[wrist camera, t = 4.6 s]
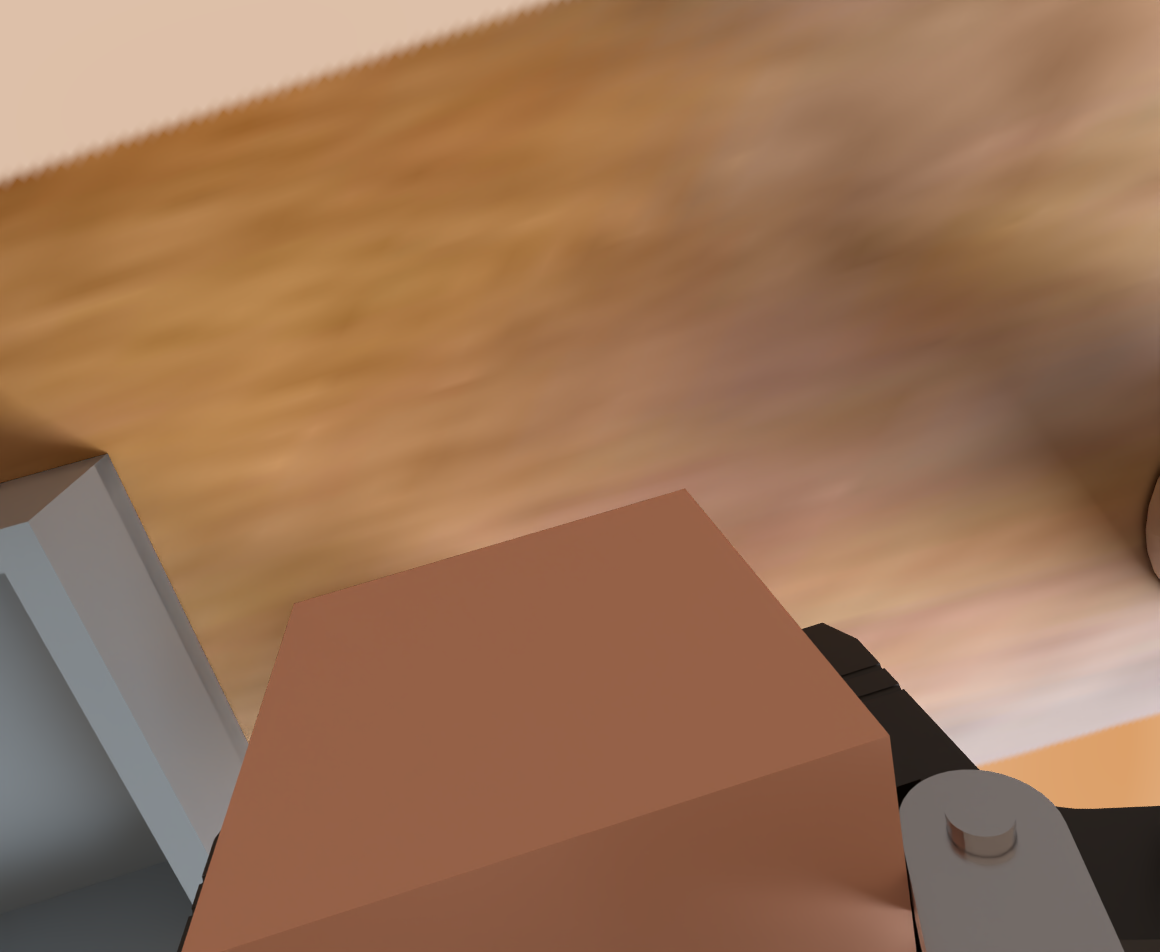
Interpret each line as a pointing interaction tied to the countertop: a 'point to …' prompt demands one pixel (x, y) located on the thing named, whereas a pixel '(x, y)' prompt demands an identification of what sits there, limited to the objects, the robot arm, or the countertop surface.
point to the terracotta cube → (561, 763)
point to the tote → (101, 725)
